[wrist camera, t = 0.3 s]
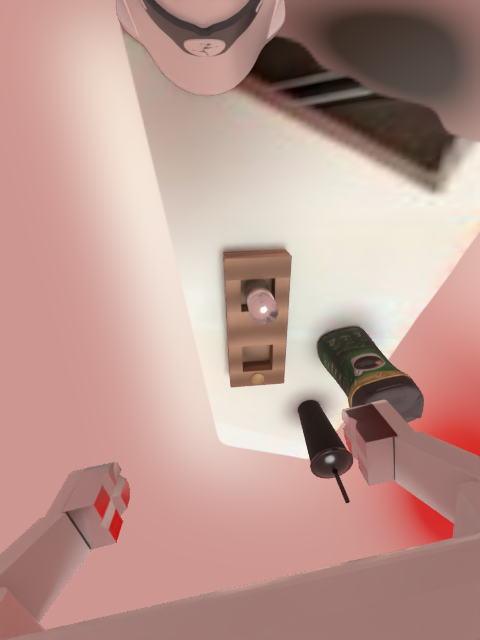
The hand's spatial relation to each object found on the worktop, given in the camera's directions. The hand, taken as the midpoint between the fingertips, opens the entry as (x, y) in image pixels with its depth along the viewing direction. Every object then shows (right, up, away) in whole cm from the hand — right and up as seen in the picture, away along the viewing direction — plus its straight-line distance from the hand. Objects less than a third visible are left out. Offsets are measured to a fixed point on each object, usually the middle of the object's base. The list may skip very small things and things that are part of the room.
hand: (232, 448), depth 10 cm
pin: (+3, +10, +37) cm, 38 cm away
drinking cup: (+15, -15, +52) cm, 56 cm away
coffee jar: (+20, 0, +45) cm, 49 cm away
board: (+3, +5, +41) cm, 41 cm away
